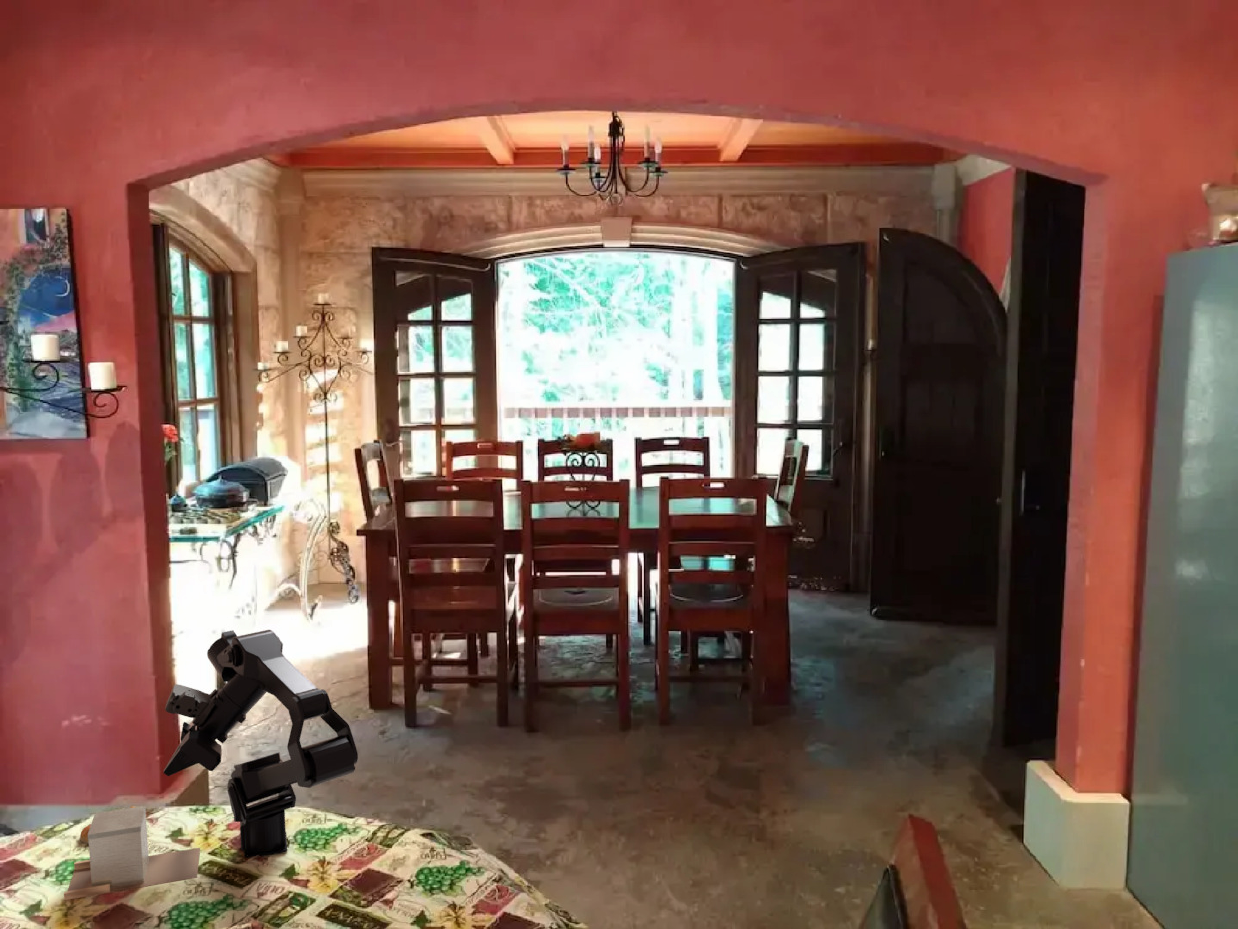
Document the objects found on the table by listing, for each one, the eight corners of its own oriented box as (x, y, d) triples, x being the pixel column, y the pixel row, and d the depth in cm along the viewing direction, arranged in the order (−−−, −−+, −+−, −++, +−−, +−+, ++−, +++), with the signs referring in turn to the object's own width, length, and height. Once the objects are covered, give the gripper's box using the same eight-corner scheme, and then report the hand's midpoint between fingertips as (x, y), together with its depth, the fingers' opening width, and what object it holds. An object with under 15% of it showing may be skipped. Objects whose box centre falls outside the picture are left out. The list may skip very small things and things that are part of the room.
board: (200, 850, 159) (199, 841, 159) (197, 879, 151) (196, 871, 150) (75, 870, 153) (74, 862, 153) (64, 902, 144) (63, 894, 144)
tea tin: (149, 859, 156) (145, 805, 155) (144, 882, 149) (140, 826, 148) (98, 867, 153) (95, 813, 152) (91, 891, 147) (87, 834, 145)
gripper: (199, 651, 165) (130, 723, 162) (192, 688, 147) (115, 769, 145) (251, 690, 168) (185, 761, 166) (251, 731, 151) (177, 810, 149)
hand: (165, 773), depth 156 cm, fingers closed
